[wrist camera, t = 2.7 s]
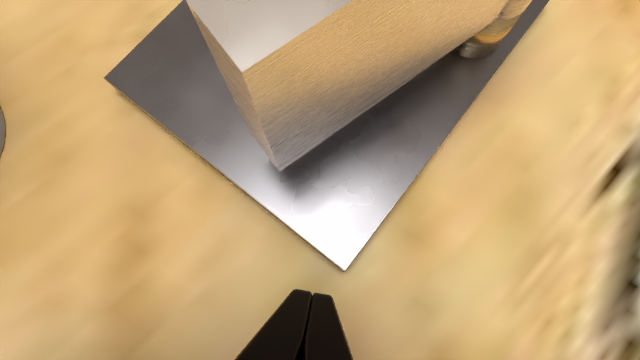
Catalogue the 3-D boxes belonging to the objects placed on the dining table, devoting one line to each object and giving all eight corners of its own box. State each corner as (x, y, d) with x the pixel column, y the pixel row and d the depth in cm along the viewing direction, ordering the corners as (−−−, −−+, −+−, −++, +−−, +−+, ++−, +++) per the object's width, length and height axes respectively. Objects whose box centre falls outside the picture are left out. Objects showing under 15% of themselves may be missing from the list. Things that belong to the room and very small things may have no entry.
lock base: (343, 271, 17) (348, 268, 14) (116, 90, 20) (72, 48, 16) (546, 3, 21) (591, -54, 17) (333, -126, 23) (334, -199, 19)
